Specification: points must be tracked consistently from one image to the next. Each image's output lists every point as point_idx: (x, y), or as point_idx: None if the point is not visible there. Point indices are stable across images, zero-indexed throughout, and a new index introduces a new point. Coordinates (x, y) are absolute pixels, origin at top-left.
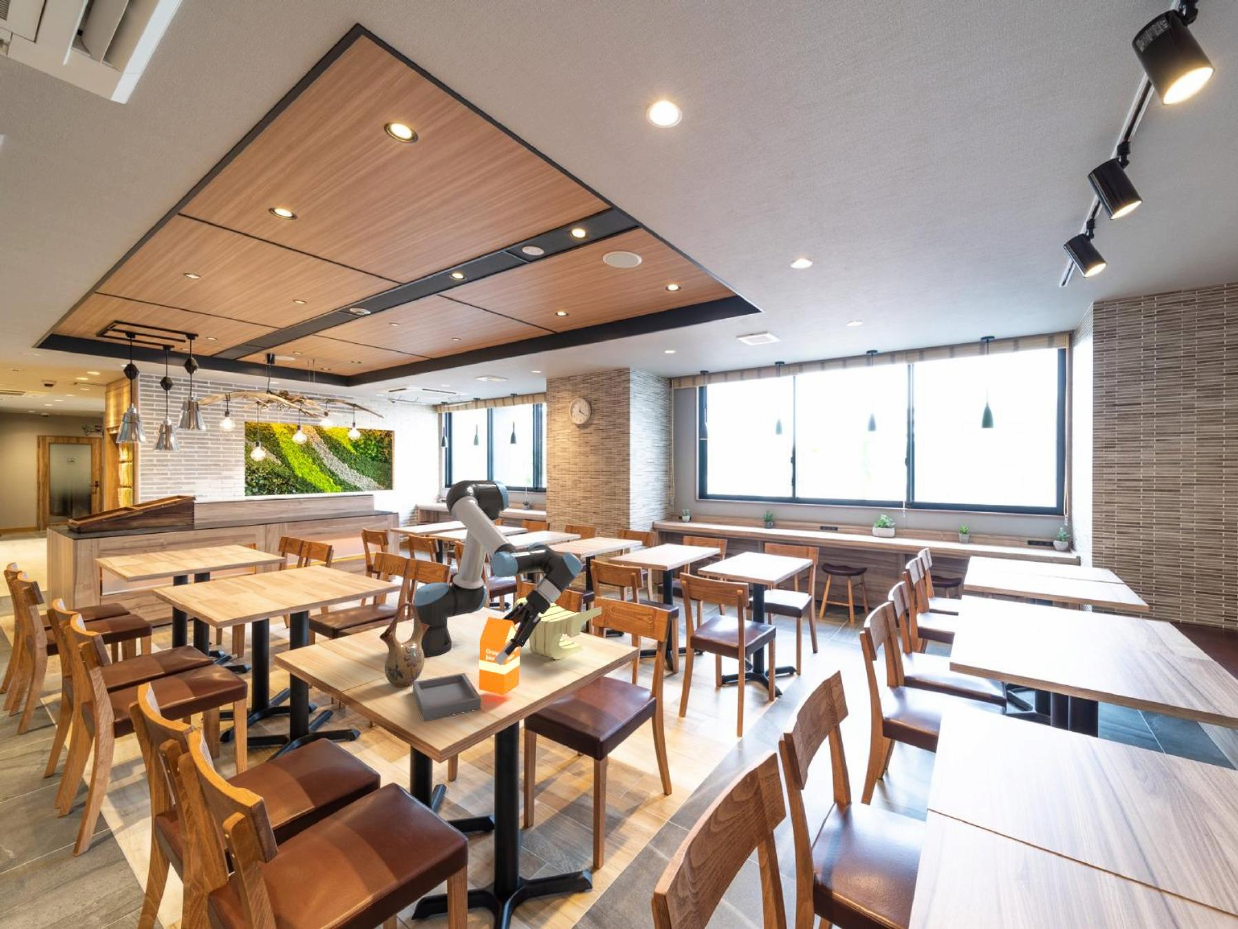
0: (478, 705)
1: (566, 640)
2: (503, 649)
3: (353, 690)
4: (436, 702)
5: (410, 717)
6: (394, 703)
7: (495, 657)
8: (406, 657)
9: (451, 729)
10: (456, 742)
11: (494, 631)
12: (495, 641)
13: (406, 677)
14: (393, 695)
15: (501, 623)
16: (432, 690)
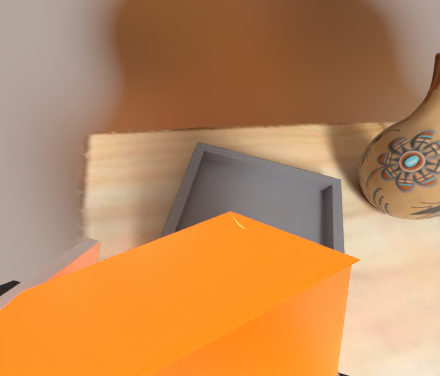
0: None
1: None
2: (29, 277)
3: (378, 133)
4: (242, 191)
5: (227, 149)
6: (296, 153)
7: (85, 245)
8: (397, 143)
9: (133, 173)
10: (86, 158)
11: (151, 268)
12: (112, 259)
13: (362, 173)
14: (330, 163)
15: (76, 355)
16: (305, 209)
